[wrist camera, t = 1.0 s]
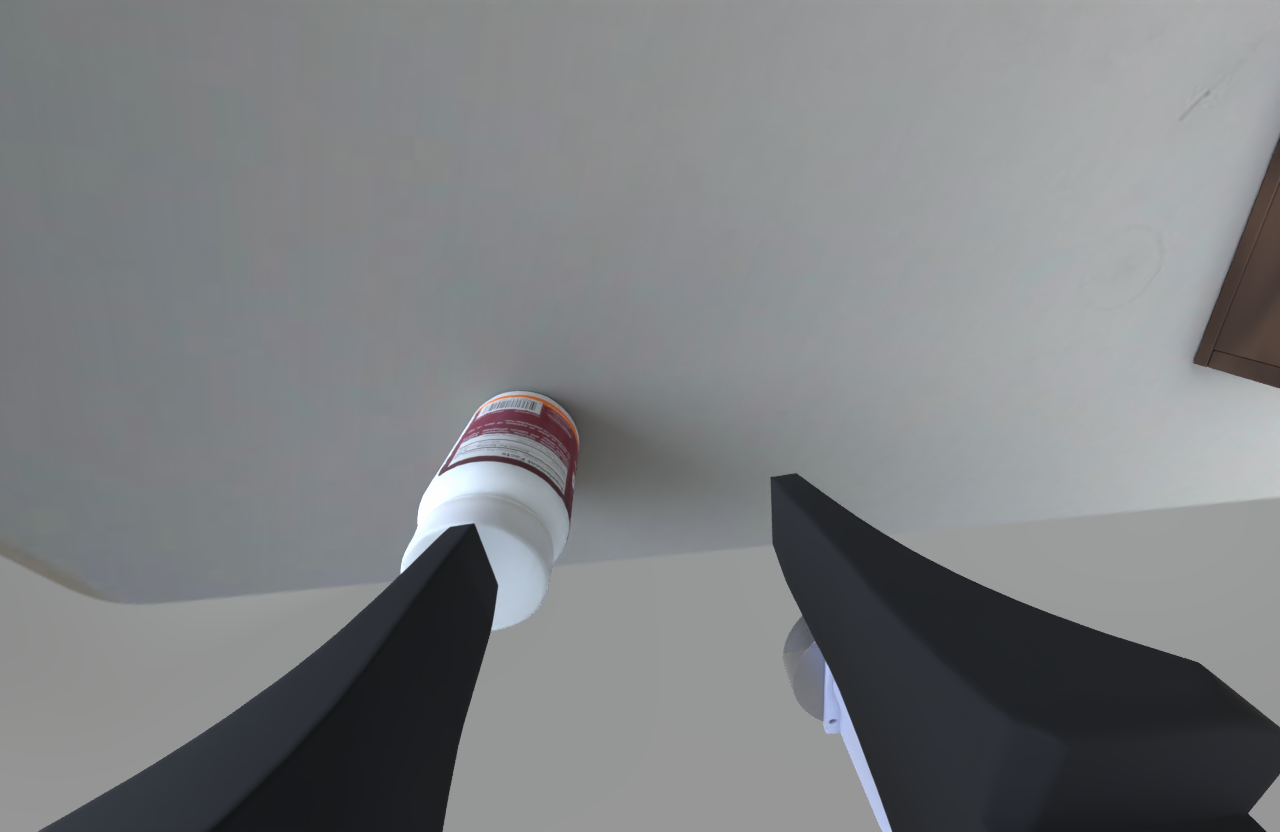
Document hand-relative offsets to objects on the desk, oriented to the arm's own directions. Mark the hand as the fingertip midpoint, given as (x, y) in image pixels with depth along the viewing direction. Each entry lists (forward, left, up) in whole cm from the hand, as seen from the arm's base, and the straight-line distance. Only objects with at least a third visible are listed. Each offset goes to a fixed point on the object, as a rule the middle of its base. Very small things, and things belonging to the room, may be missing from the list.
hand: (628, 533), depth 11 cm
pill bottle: (-2, +4, -9) cm, 11 cm away
